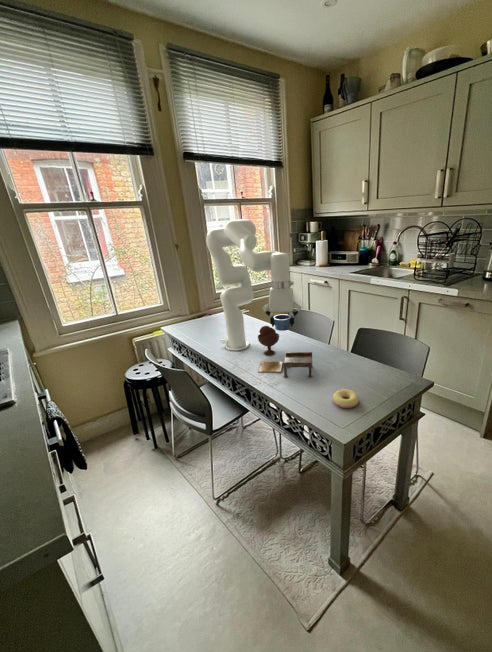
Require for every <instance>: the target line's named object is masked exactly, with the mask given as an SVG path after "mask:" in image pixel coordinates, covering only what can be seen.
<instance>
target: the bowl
mask: <svg viewBox="0 0 492 652" xmlns="http://www.w3.org/2000/svg"><path fill="white" fill-rule="evenodd" d="M273 316H274V318H273V320H274V330H275V331H280V332H283V331H284V332H285V331H288V330H290V329H291V322H290V318H291V315H290V314H283V313H282V314H276V315H273Z"/></svg>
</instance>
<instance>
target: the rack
mask: <svg viewBox="0 0 492 652" xmlns="http://www.w3.org/2000/svg"><path fill="white" fill-rule="evenodd" d="M282 362H283V365H282V366H283V375H284V378H288V368H308V378H309V379H310V378H312V376H313V375H312V372H313V371H312V369H313V351H285V357H284V361H282Z"/></svg>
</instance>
